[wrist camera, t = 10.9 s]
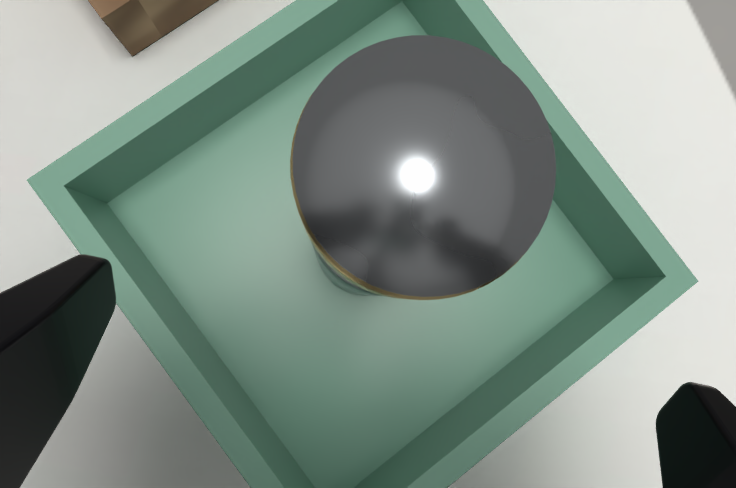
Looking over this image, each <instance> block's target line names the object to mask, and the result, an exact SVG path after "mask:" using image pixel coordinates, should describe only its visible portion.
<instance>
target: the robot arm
mask: <svg viewBox="0 0 736 488" xmlns="http://www.w3.org/2000/svg"><path fill="white" fill-rule="evenodd" d="M115 305H116V292H115V285H114V278H113V271H112V266H111V263H110V262H109V260H107V259H105V258H101V257H96V256H91V255H86V254H81V255H77V256H75V257H73V258H71V259H69V260H67V261H65V262H63V263H61V264H59V265H56V266H54V267H52V268H50V269H48V270H46V271H44V272H42V273H40V274H38V275H36V276H34V277H32V278H30V279H28V280H26V281H24V282H22V283H20V284H18V285H16V286H14V287H12V288H10V289H8V290H5V291H3V292H1V293H0V488H20V486H21V485H22V483H23V481H24V480H25V478H26V476H27V475H28V473H29V471H30V470H31V468H32V467H33V465H34V463H35V462H36V460H37V458H38V457H39V455H40V453H41V452H42V450H43V448H44V447H45V445H46V443H47V442H48V440H49V439H50V437H51V435H52V434H53V432H54V430H55V429H56V427H57V425H58V424H59V422H60V420H61V419H62V417H63V415H64V414H65V412H66V410H67V409H68V407H69V405H70V403H71V402H72V400H73V398H74V396H75V394H76V392H77V390H78V388H79V386H80V384H81V381H82V379H83V377H84V375H85V373H86V371H87V368H88V366H89V364H90V362H91V360H92V358H93V355H94V353H95V351H96V349H97V347H98V345H99V342H100V340H101V338H102V336H103V334H104V332H105V329H106V327H107V325H108V323H109V321H110V319H111V316H112V314H113V312H114V309H115ZM656 433H657V441H658V450H659V459H660V467H661V476H662V484H663V488H736V407H735V406H734V405H733V404H732V403H731V402H730V401H729V400H728V399H727V398H726V397H725V396H724V395H723V394H722V393H721V392H720V391H719V390H717V389H716V388H714V387H711V386H707V385H702V384H698V383H693V382H687V383H685V384H683V385H682V386H681V387H680V388H679V389H678V390H677V391H676V392H675V393H674V395H673V396H672V397H671V398H670V399H669V400H668V401H667V403H666V404H665V405H664V406H663V407H662V408H661V410H660V411H659V413H658V415H657V419H656Z"/></svg>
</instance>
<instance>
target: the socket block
mask: <svg viewBox="0 0 736 488" xmlns="http://www.w3.org/2000/svg"><path fill="white" fill-rule="evenodd" d="M88 1H89V2H90V4H91V5H92V7H93V8H94V9H95V11H96V12H97V13H98V15H99V16H100V17H101V19H102V20H103V21H104V22H105V24H106V25H107V26H108V27H109V28H110V30H111V31H112V32H113V33H114V34H115V36H116V37H117V38H118V39H119V41H120V42H121V43H122V44H123V45H124V47H125V48H126V49H127V50H128V51H129V53H130V54H131V55H132V56H134V55H135V54H137V53H138V52H140V51H141V50H143V49H145V48H146V47H148V46H149V45H151V44H152V43H154V42H155V41H157V40H158V39H160V38H161V37H163V36H164V35H166V34H167V33H169V32H171V31H172V30H174V29H175V28H177V27H178V26H180V25H181V24H183V23H184V22H186V21H187V20H189V19H190V18H192V17H193V16H195V15H196V14H198V13H200V12H201V11H203V10H204V9H206V8H207V7H209V6H210V5H212V4H213V3H215V2H216V1H218V0H88Z"/></svg>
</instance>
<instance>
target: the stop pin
mask: <svg viewBox="0 0 736 488" xmlns="http://www.w3.org/2000/svg"><path fill="white" fill-rule="evenodd" d="M290 177H291V184H292V190H293V196H294V199H295V202H296V206H297V209H298V212H299V215H300V218H301V221H302V223H303V226H304V228H305V230H306V233H307V235H308V237H309V239H310V241H311V242H312V245H313V248H314V251H315V254H316V257H317V261H318V263H319V265H320V268H321V269H322V271H323V273H324V274H325V275H326V277H327V278H328V279H329V280H330V281H331V282H332V283H333V284H335V285H336V286H337V287H339V288H341V289H342V290H344V291H347V292H349V293H352V294H356V295H364V296H386V297H390V298H398V299H410V300H439V299H445V298H451V297H457V296H460V295H463V294H466V293H469V292H473V291H475V290H477V289H479V288H481V287H483V286H486V285H488V284H490V283H491V282H493V281H494V280H496V279H497V278H499V277H500V276H502V275H503V274H505V273H506V272H507V271H508V270H509V269H510V268H512V267H513V266H514V265H515V264H516V263H517V262H518V261H519V260H520V259H521V258H522V256H523V255H524V254H525V253H526V252H527V251H528V249H529V248H530V246H531V245H532V244H533V242H534V241H535V239H536V238H537V236H538V235H539V233H540V231H541V229H542V227H543V225H544V223H545V221H546V219H547V216H548V213H549V210H550V207H551V204H552V200H553V195H554V190H555V182H556V157H555V149H554V144H553V139H552V135H551V132H550V129H549V126H548V123H547V120H546V118H545V116H544V114H543V111H542V109H541V107H540V105H539V104H538V102H537V100H536V99H535V97H534V96H533V94H532V93H531V91H530V90H529V89H528V87H527V86H526V85H525V84H524V83H523V81H522V80H521V79H520V78H519V77H518V76H517V75H516V74H515V73H514V72H513V71H512V70H511V69H509V68H508V67H507V66H506V65H505V64H503V63H502V62H501V61H499V60H498V59H496V58H495V57H494V56H492V55H490V54H488V53H487V52H485V51H483V50H481V49H479V48H477V47H475V46H472V45H470V44H467V43H464V42H462V41H458V40H454V39H450V38H446V37H438V36H431V35H411V36H403V37H396V38H392V39H388V40H384V41H380V42H378V43H375V44H373V45H370V46H368V47H365V48H363V49H361V50H360V51H358V52H356V53H354V54H353V55H351V56H349V57H348V58H346V59H345V60H344V61H343V62H341V63H340V64H339V65H337V66H336V67H335V68H334V69H333V70H332V71H331V72H330V73H329V74H328V75H327V76H326V77H325V78H324V79H323V80H322V82H321V83H320V84H319V85H318V87H317V88H316V89H315V91H314V92H313V93H312V95H311V96H310V98H309V100H308V101H307V103H306V105H305V107H304V108H303V110H302V113H301V115H300V118H299V120H298V123H297V125H296V129H295V133H294V137H293V141H292V147H291V156H290Z"/></svg>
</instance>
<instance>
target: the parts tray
mask: <svg viewBox="0 0 736 488" xmlns="http://www.w3.org/2000/svg"><path fill="white" fill-rule="evenodd" d="M411 35H431V36H438V37H446V38H450V39H454V40H458V41H462V42H464V43H467V44H470V45H472V46H475V47H477V48H479V49H481V50H483V51H485V52H487V53H488V54H490V55H492V56H494V57H495V58H496V59H498V60H499V61H501V62H502V63H503V64H505V65H506V66H507V67H508V68H509V69H511V70H512V71H513V72H514V73H515V74H516V75H517V76H518V77H519V78H520V79H521V80H522V81H523V83H524V84H525V85H526V86H527V87H528V89H529V90H530V91H531V93H532V94H533V96H534V97H535V99H536V100H537V102H538V104H539V105H540V107H541V109H542V111H543V114H544V116H545V118H546V120H547V123H548V126H549V129H550V132H551V135H552V139H553V144H554V149H555V157H556V182H555V190H554V195H553V200H552V204H551V207H550V210H549V213H548V216H547V219H546V221H545V223H544V225H543V227H542V229H541V231H540V233H539V235H538V236H537V238H536V239H535V241H534V242H533V244H532V245H531V246H530V248H529V249H528V251H527V252H526V253H525V254H524V255H523V256H522V258H521V259H520V260H519V261H518V262H517V263H516V264H515V265H514V266H513V267H512V268H510V269H509V270H508V271H507V272H506V273H505V274H503V275H502V276H500V277H499V278H497V279H496V280H494V281H493V282H491V283H490V284H488V285H486V286H483V287H481V288H479V289H477V290H475V291H473V292H469V293H466V294H463V295H460V296H457V297H451V298H445V299H439V300H410V299H398V298H390V297H386V296H364V295H356V294H352V293H349V292H347V291H344V290H342V289H341V288H339V287H337V286H336V285H335V284H333V283H332V282H331V281H330V280H329V279H328V278H327V277H326V275H325V274H324V273H323V271H322V269H321V268H320V265H319V263H318V261H317V257H316V254H315V251H314V248H313V245H312V242H311V241H310V239H309V237H308V235H307V233H306V230H305V228H304V226H303V223H302V221H301V218H300V215H299V212H298V209H297V206H296V202H295V199H294V196H293V190H292V184H291V177H290V156H291V147H292V141H293V137H294V133H295V129H296V125H297V123H298V120H299V118H300V115H301V113H302V110H303V108H304V107H305V105H306V103H307V101H308V100H309V98H310V96H311V95H312V93H313V92H314V91H315V89H316V88H317V87H318V85H319V84H320V83H321V82H322V80H323V79H324V78H325V77H326V76H327V75H328V74H329V73H330V72H331V71H332V70H333V69H334V68H335V67H336V66H337V65H339V64H340V63H341V62H343V61H344V60H345V59H346V58H348V57H349V56H351V55H353V54H354V53H356V52H358V51H360V50H361V49H363V48H365V47H368V46H370V45H373V44H375V43H378V42H380V41H384V40H388V39H392V38H396V37H403V36H411ZM27 181H28V183H29V184H30V185H31V187H32V188H33V189H34V191H35V192H36V194H37V195H38V196H39V198H40V199H41V200H42V202H43V203H44V205H45V206H46V207H47V209H48V210H49V211H50V213H51V214H52V216H53V217H54V218H55V220H56V221H57V222H58V224H59V225H60V227H61V228H62V229H63V231H64V232H65V233H66V235H67V236H68V238H69V239H70V240H71V242H72V243H73V244H74V246H75V247H76V249H77V250H78V251H79V253H80V254H86V255H91V256H96V257H101V258H105V259H107V260H109V262H110V263H111V266H112V271H113V278H114V285H115V292H116V303H117V305H118V306H119V308H120V309H121V310H122V312H123V313H124V314H125V316H126V317H127V319H128V320H129V321H130V323H131V324H132V325H133V327H134V328H135V330H136V331H137V332H138V334H139V335H140V336H141V338H142V339H143V341H144V342H145V343H146V345H147V346H148V347H149V349H150V350H151V351H152V353H153V354H154V356H155V357H156V358H157V360H158V361H159V362H160V364H161V365H162V367H163V368H164V369H165V371H166V372H167V373H168V375H169V376H170V378H171V379H172V380H173V382H174V383H175V384H176V386H177V387H178V389H179V390H180V391H181V393H182V394H183V395H184V397H185V398H186V400H187V401H188V402H189V404H190V405H191V406H192V408H193V409H194V411H195V412H196V413H197V415H198V416H199V417H200V419H201V420H202V422H203V423H204V424H205V426H206V427H207V428H208V430H209V431H210V432H211V434H212V435H213V437H214V438H215V439H216V441H217V442H218V443H219V445H220V446H221V448H222V449H223V450H224V452H225V453H226V454H227V456H228V457H229V459H230V460H231V461H232V463H233V464H234V465H235V467H236V468H237V470H238V471H239V472H240V474H241V475H242V476H243V478H244V479H245V481H246V482H247V483H248V485H249V486H250V487H251V488H447V487H449V486H450V485H451V484H452V483H453V482H455V481H456V480H457V479H458V478H460V477H461V476H462V475H463V474H464V473H466V472H467V471H468V470H469V469H470V468H472V467H473V466H474V465H475V464H477V463H478V462H479V461H480V460H481V459H483V458H484V457H485V456H486V455H488V454H489V453H490V452H491V451H492V450H494V449H495V448H496V447H497V446H498V445H500V444H501V443H502V442H503V441H505V440H506V439H507V438H508V437H509V436H511V435H512V434H513V433H514V432H515V431H517V430H518V429H519V428H520V427H522V426H523V425H524V424H525V423H526V422H528V421H529V420H530V419H531V418H533V417H534V416H535V415H536V414H537V413H539V412H540V411H541V410H542V409H543V408H545V407H546V406H547V405H548V404H550V403H551V402H552V401H553V400H554V399H556V398H557V397H558V396H559V395H561V394H562V393H563V392H564V391H565V390H567V389H568V388H569V387H570V386H571V385H573V384H574V383H575V382H576V381H578V380H579V379H580V378H581V377H582V376H584V375H585V374H586V373H587V372H589V371H590V370H591V369H592V368H593V367H595V366H596V365H597V364H598V363H599V362H601V361H602V360H603V359H604V358H606V357H607V356H608V355H609V354H610V353H612V352H613V351H614V350H615V349H617V348H618V347H619V346H620V345H621V344H623V343H624V342H625V341H626V340H627V339H629V338H630V337H631V336H632V335H634V334H635V333H636V332H637V331H638V330H640V329H641V328H642V327H643V326H645V325H646V324H647V323H648V322H649V321H651V320H652V319H653V318H654V317H655V316H657V315H658V314H659V313H660V312H662V311H663V310H664V309H665V308H666V307H668V306H669V305H670V304H671V303H673V302H674V301H675V300H676V299H677V298H679V297H680V296H681V295H682V294H683V293H685V292H686V291H687V290H688V289H690V288H691V287H692V286H693V285H694V284H696V283H697V282H698V280H697V279H696V278H695V276H694V275H693V274H692V272H691V271H690V270H689V269H688V267H687V266H686V265H685V263H684V262H683V261H682V259H681V258H680V257H679V255H678V254H677V253H676V252H675V250H674V249H673V248H672V246H671V245H670V244H669V242H668V241H667V240H666V239H665V237H664V236H663V235H662V233H661V232H660V231H659V229H658V228H657V227H656V225H655V224H654V223H653V222H652V220H651V219H650V218H649V216H648V215H647V214H646V212H645V211H644V210H643V209H642V207H641V206H640V205H639V203H638V202H637V201H636V199H635V198H634V197H633V195H632V194H631V193H630V192H629V190H628V189H627V188H626V186H625V185H624V184H623V182H622V181H621V180H620V178H619V177H618V176H617V175H616V173H615V172H614V171H613V169H612V168H611V167H610V165H609V164H608V163H607V162H606V160H605V159H604V158H603V156H602V155H601V154H600V152H599V151H598V150H597V148H596V147H595V146H594V145H593V143H592V142H591V141H590V139H589V138H588V137H587V135H586V134H585V133H584V132H583V130H582V129H581V128H580V126H579V125H578V124H577V122H576V121H575V120H574V118H573V117H572V116H571V115H570V113H569V112H568V111H567V109H566V108H565V107H564V105H563V104H562V103H561V102H560V100H559V99H558V98H557V96H556V95H555V94H554V92H553V91H552V90H551V88H550V87H549V86H548V85H547V83H546V82H545V81H544V79H543V78H542V77H541V75H540V74H539V73H538V72H537V70H536V69H535V68H534V66H533V65H532V64H531V62H530V61H529V60H528V58H527V57H526V56H525V55H524V53H523V52H522V51H521V49H520V48H519V47H518V45H517V44H516V43H515V41H514V40H513V39H512V38H511V36H510V35H509V34H508V32H507V31H506V30H505V28H504V27H503V26H502V25H501V23H500V22H499V21H498V19H497V18H496V17H495V15H494V14H493V13H492V11H491V10H490V9H489V8H488V6H487V5H486V4H485V2H484V1H483V0H296V1H294V2H293V3H291V4H290V5H288V6H287V7H285V8H284V9H282V10H281V11H279V12H278V13H276V14H275V15H273V16H272V17H270V18H269V19H267V20H266V21H264V22H263V23H261V24H260V25H258V26H257V27H255V28H254V29H252V30H251V31H249V32H248V33H246V34H245V35H243V36H242V37H240V38H239V39H237V40H236V41H234V42H233V43H231V44H230V45H228V46H227V47H225V48H224V49H222V50H221V51H219V52H218V53H216V54H215V55H213V56H212V57H210V58H209V59H207V60H206V61H204V62H203V63H201V64H200V65H198V66H197V67H195V68H194V69H192V70H191V71H189V72H188V73H186V74H185V75H183V76H182V77H180V78H179V79H177V80H176V81H174V82H173V83H171V84H170V85H168V86H167V87H165V88H164V89H162V90H161V91H159V92H158V93H156V94H155V95H153V96H152V97H150V98H149V99H147V100H146V101H144V102H143V103H141V104H140V105H138V106H137V107H135V108H134V109H132V110H131V111H129V112H128V113H126V114H125V115H123V116H122V117H120V118H119V119H117V120H116V121H114V122H113V123H111V124H110V125H108V126H107V127H105V128H104V129H102V130H101V131H99V132H98V133H96V134H95V135H93V136H92V137H90V138H89V139H87V140H86V141H84V142H83V143H81V144H80V145H78V146H77V147H75V148H74V149H72V150H71V151H69V152H68V153H66V154H65V155H63V156H62V157H60V158H59V159H57V160H56V161H54V162H53V163H51V164H50V165H48V166H47V167H45V168H44V169H42V170H41V171H39V172H38V173H36V174H35V175H33V176H32V177H30V178H29V179H27Z"/></svg>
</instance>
